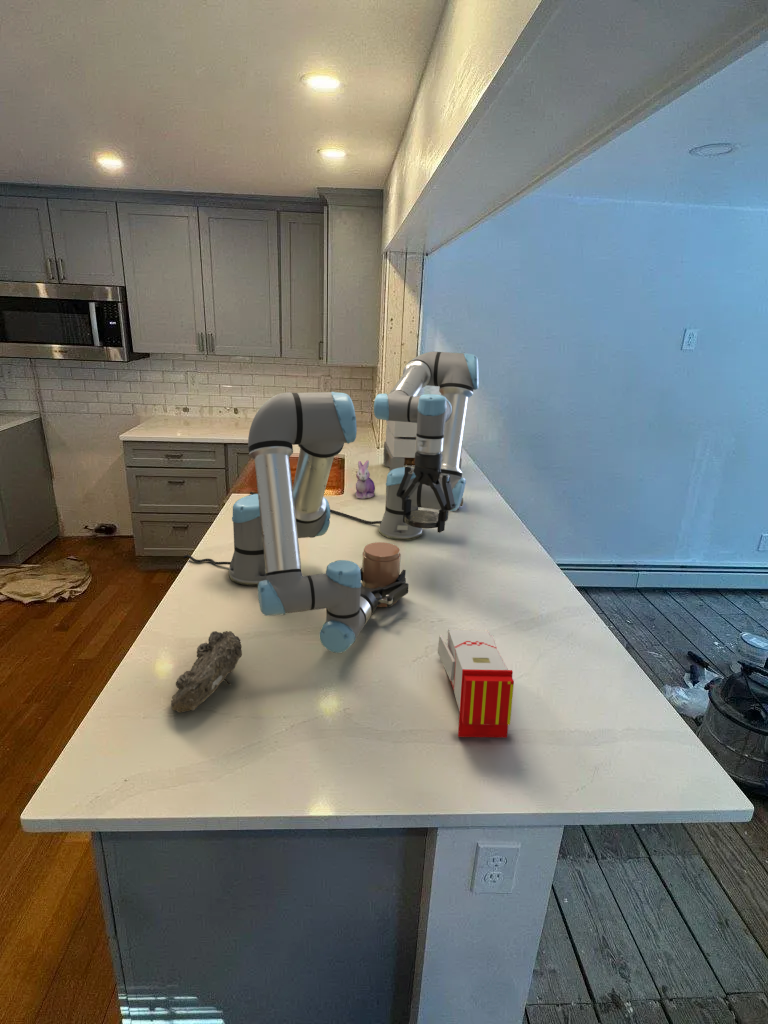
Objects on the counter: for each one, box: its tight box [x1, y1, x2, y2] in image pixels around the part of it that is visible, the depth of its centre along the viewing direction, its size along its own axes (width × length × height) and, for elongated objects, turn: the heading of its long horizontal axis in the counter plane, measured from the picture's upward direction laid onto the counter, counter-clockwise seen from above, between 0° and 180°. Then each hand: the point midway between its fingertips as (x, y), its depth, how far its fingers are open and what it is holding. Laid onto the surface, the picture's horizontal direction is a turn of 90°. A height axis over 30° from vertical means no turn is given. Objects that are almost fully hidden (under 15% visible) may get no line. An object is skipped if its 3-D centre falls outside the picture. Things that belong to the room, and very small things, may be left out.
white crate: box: [383, 393, 465, 472], centre depth 268 cm, size 34×33×41 cm
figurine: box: [354, 460, 376, 500], centre depth 236 cm, size 9×10×15 cm
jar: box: [361, 541, 402, 608], centre depth 153 cm, size 10×10×15 cm
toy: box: [437, 628, 515, 738], centre depth 117 cm, size 12×13×30 cm
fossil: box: [170, 630, 243, 713], centre depth 116 cm, size 22×10×15 cm
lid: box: [404, 509, 439, 530], centre depth 163 cm, size 11×11×2 cm
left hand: (385, 570), depth 157 cm, fingers closed on jar, 10 cm apart
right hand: (423, 526), depth 163 cm, fingers closed on lid, 11 cm apart
